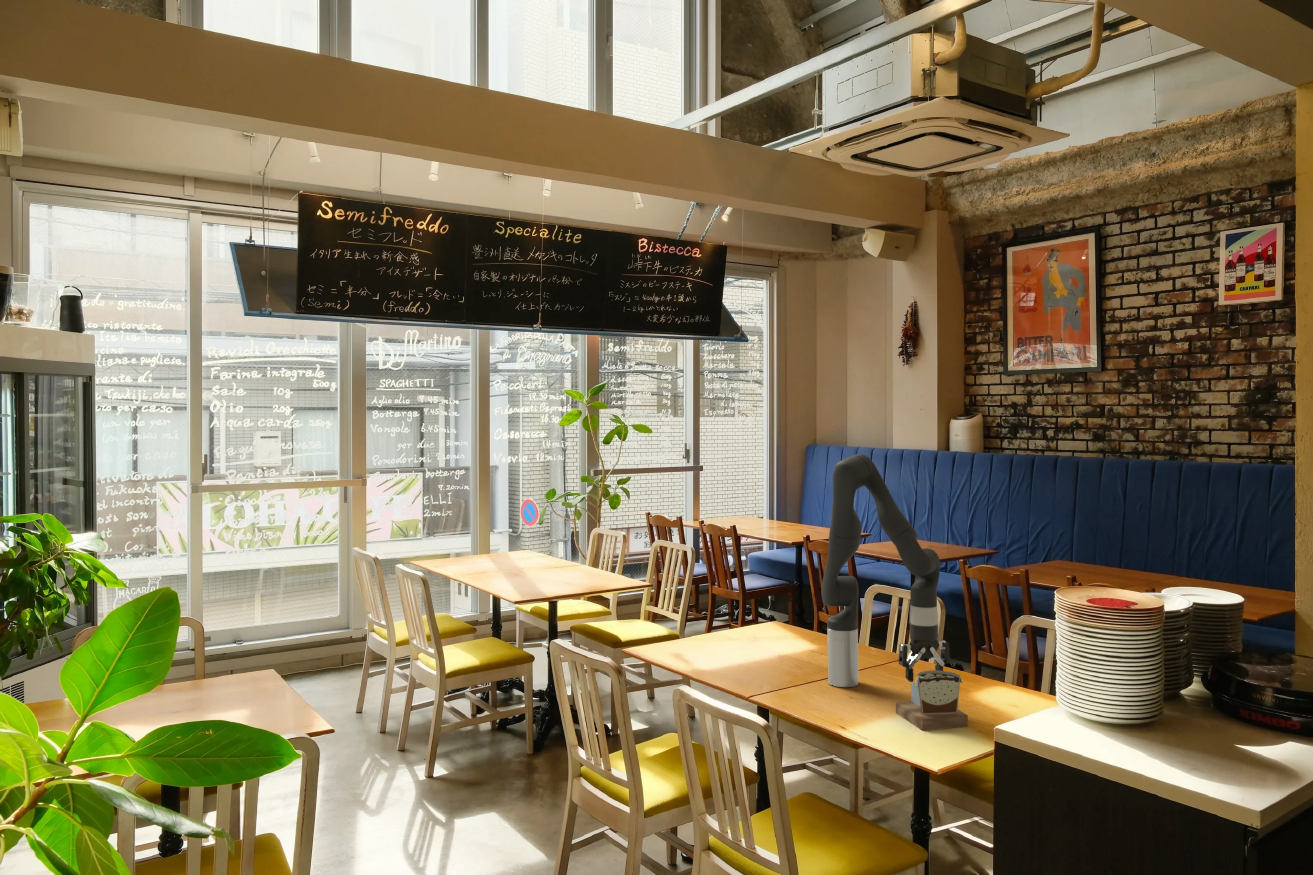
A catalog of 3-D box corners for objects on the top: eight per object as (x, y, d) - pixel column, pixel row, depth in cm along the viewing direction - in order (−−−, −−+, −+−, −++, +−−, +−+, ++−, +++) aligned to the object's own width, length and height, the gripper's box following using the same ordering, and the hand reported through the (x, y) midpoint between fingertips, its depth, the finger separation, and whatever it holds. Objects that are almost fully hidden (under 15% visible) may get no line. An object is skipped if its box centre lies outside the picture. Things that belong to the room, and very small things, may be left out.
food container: (953, 705, 241) (953, 669, 241) (962, 712, 235) (962, 675, 235) (909, 707, 241) (908, 670, 241) (916, 714, 234) (916, 676, 234)
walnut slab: (895, 712, 245) (895, 702, 245) (939, 709, 248) (938, 698, 248) (922, 730, 231) (922, 718, 231) (968, 726, 233) (967, 715, 233)
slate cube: (911, 701, 246) (911, 683, 246) (928, 700, 247) (928, 682, 247) (920, 706, 241) (920, 688, 241) (937, 705, 242) (937, 687, 242)
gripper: (906, 626, 239) (907, 686, 240) (954, 622, 242) (955, 681, 243) (893, 620, 247) (894, 678, 247) (940, 617, 250) (940, 674, 250)
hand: (924, 680), depth 245 cm, fingers open, 8 cm apart
